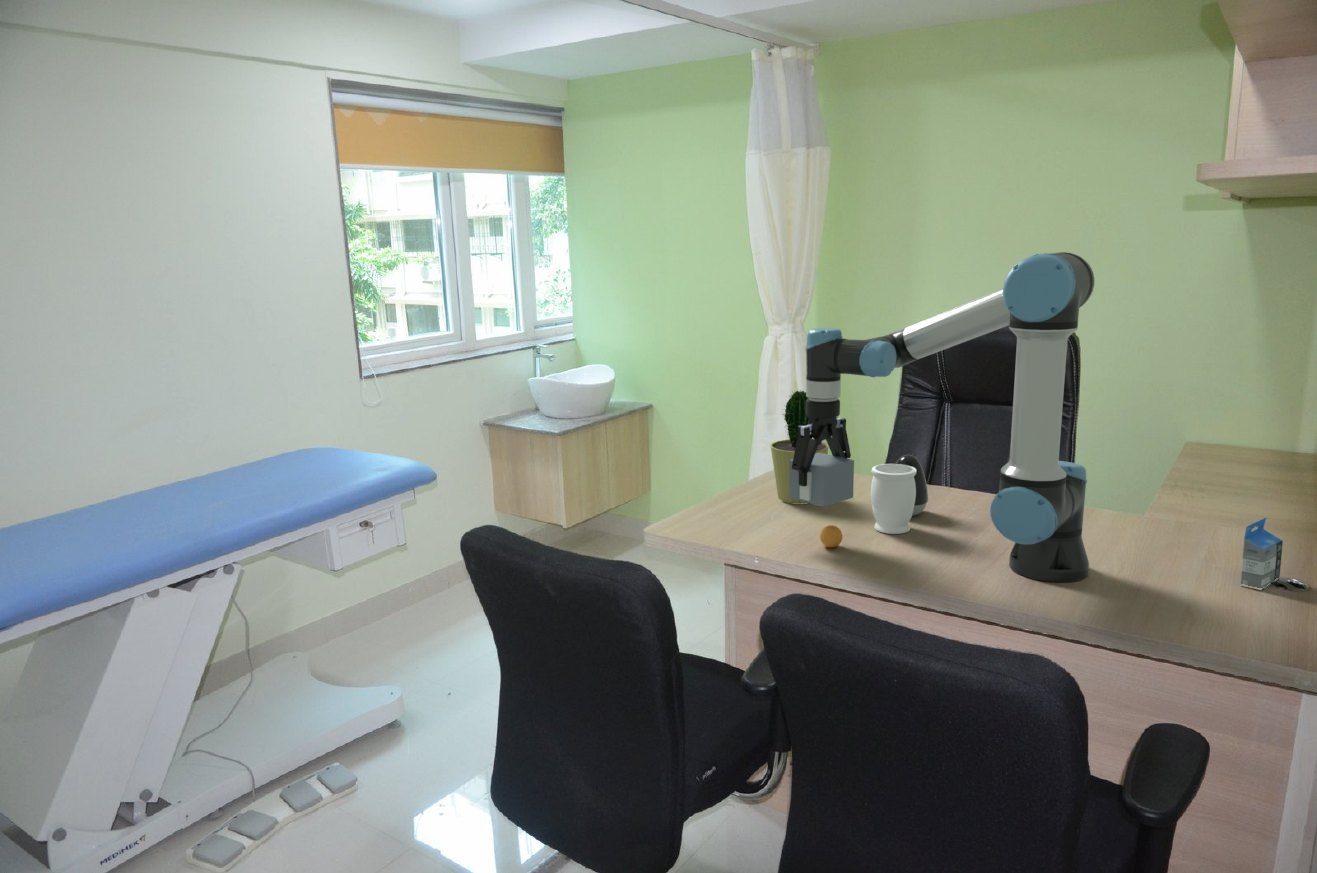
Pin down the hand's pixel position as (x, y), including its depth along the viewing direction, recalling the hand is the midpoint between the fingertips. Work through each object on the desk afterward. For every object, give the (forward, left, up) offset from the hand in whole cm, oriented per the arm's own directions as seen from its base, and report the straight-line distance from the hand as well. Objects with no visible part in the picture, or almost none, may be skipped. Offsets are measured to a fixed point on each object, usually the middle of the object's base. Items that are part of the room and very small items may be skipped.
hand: (821, 494), depth 201 cm
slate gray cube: (0, 0, -1) cm, 1 cm away
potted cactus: (+28, -24, -12) cm, 39 cm away
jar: (-5, -20, -12) cm, 24 cm away
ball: (-3, 0, -9) cm, 10 cm away
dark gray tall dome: (0, -33, -12) cm, 35 cm away
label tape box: (-75, -43, -12) cm, 87 cm away
